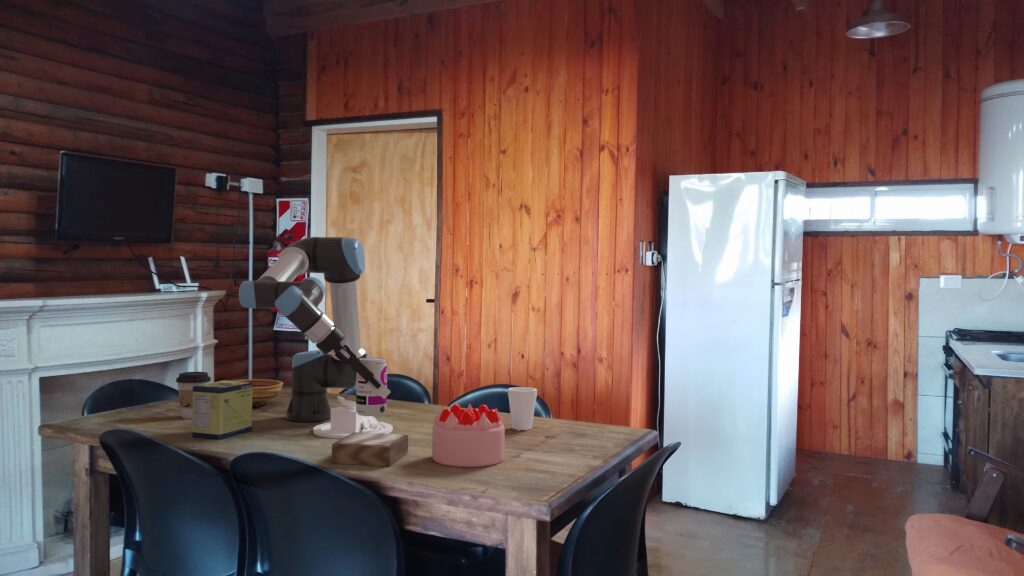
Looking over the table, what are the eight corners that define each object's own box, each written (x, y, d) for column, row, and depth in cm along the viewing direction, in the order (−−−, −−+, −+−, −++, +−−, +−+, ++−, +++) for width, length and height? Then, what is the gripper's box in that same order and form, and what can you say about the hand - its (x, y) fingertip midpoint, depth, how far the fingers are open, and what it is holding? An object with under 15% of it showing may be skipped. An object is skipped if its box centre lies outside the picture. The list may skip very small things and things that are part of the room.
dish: (355, 443, 233) (355, 405, 233) (296, 433, 247) (296, 397, 247) (408, 430, 254) (409, 395, 254) (351, 421, 268) (352, 388, 267)
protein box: (253, 430, 248) (253, 381, 248) (219, 440, 234) (220, 388, 233) (225, 427, 252) (226, 379, 252) (191, 437, 237) (191, 385, 237)
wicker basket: (196, 404, 294) (197, 383, 293) (249, 396, 314) (249, 376, 314) (249, 413, 278) (249, 390, 278) (301, 404, 298) (301, 383, 298)
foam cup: (540, 427, 260) (541, 388, 260) (529, 432, 252) (530, 392, 251) (514, 424, 264) (515, 386, 264) (502, 429, 256) (503, 389, 255)
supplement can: (389, 411, 218) (390, 357, 217) (381, 417, 209) (382, 361, 209) (361, 410, 218) (361, 357, 218) (352, 416, 210) (352, 360, 210)
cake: (428, 467, 205) (429, 413, 205) (435, 450, 225) (436, 400, 225) (503, 468, 205) (504, 414, 205) (504, 451, 225) (505, 401, 225)
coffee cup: (167, 418, 266) (167, 374, 266) (192, 412, 277) (193, 370, 276) (193, 421, 262) (193, 376, 262) (218, 415, 272) (218, 372, 272)
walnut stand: (331, 463, 208) (332, 443, 207) (353, 449, 223) (353, 431, 223) (390, 466, 205) (390, 446, 205) (408, 452, 221) (408, 434, 221)
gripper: (310, 341, 218) (367, 397, 224) (319, 348, 198) (381, 409, 204) (329, 322, 220) (385, 377, 226) (341, 327, 200) (402, 388, 206)
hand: (383, 392), depth 215 cm, fingers closed on supplement can, 8 cm apart
